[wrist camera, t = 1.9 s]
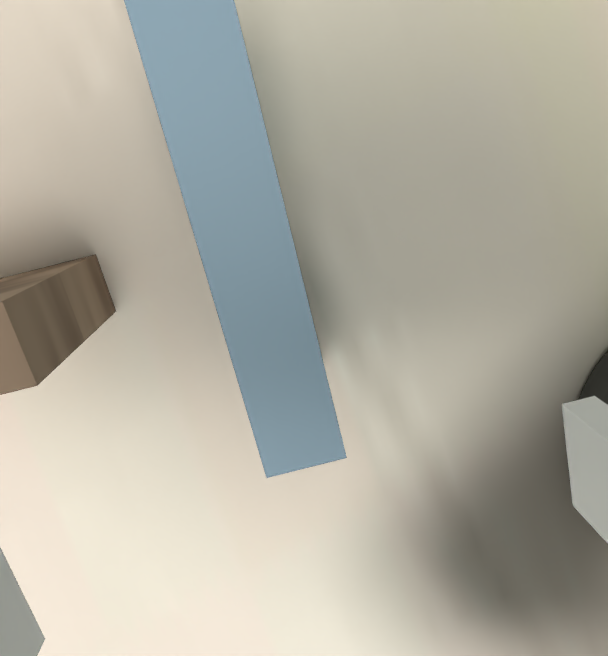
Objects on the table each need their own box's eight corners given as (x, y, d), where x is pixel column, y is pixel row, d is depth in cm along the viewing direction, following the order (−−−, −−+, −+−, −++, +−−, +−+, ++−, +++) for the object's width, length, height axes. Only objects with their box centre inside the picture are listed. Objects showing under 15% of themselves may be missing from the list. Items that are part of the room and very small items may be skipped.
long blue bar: (241, 44, 25) (225, -35, 15) (320, 363, 29) (346, 457, 20) (177, 60, 25) (121, -9, 15) (266, 377, 29) (266, 477, 20)
